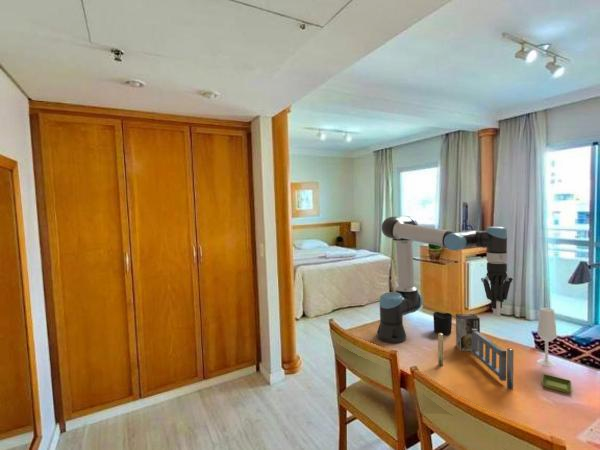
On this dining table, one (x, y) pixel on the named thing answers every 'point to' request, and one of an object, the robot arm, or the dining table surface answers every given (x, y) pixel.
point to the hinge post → (510, 368)
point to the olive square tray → (556, 383)
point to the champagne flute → (546, 332)
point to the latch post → (440, 349)
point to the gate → (486, 360)
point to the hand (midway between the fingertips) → (496, 315)
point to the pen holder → (442, 323)
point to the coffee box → (466, 331)
